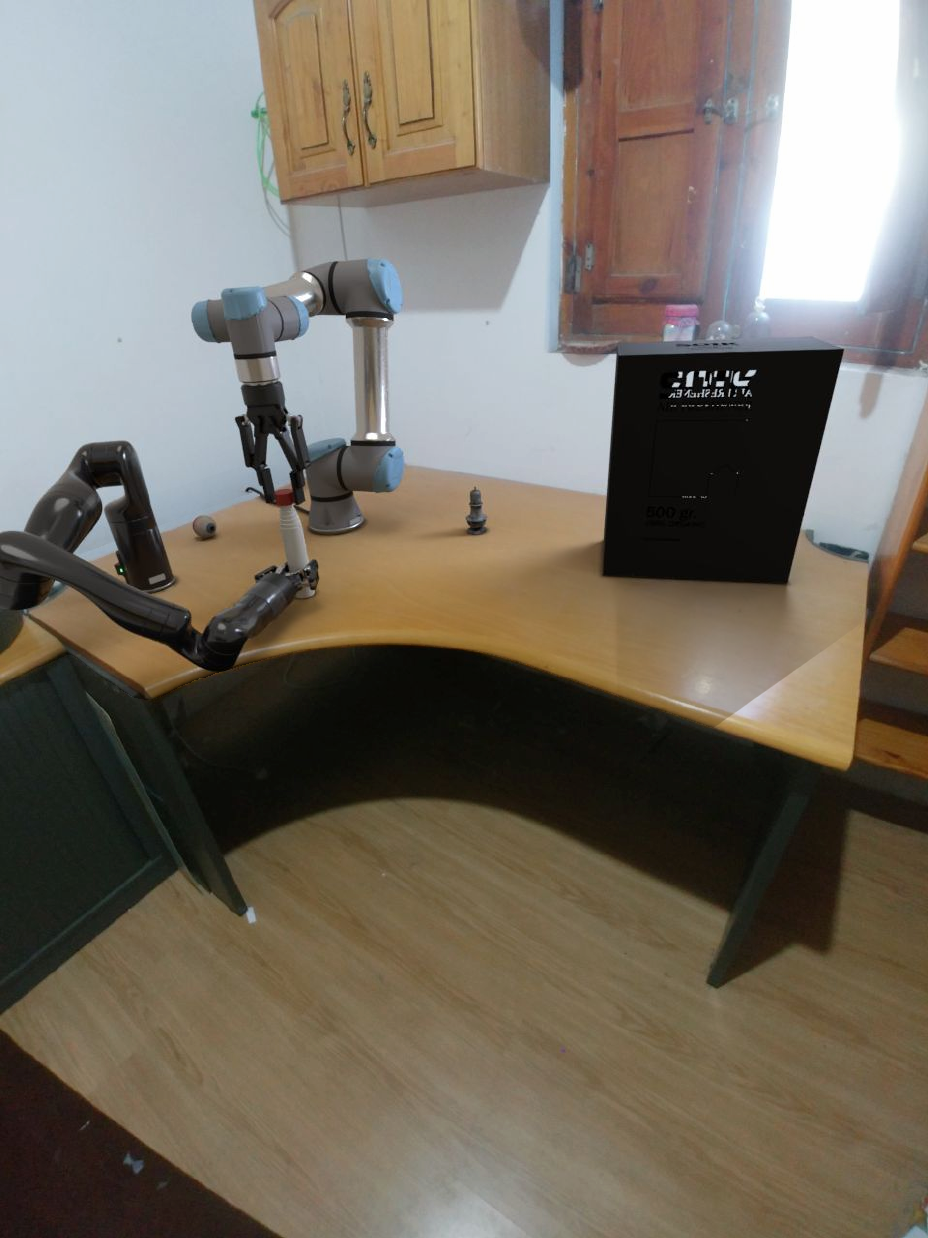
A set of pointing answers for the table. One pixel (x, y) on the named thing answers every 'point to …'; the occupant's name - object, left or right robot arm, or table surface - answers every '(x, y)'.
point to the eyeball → (204, 526)
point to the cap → (284, 497)
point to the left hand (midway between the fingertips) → (305, 562)
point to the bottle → (294, 544)
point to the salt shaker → (476, 514)
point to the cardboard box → (714, 456)
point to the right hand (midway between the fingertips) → (285, 501)
